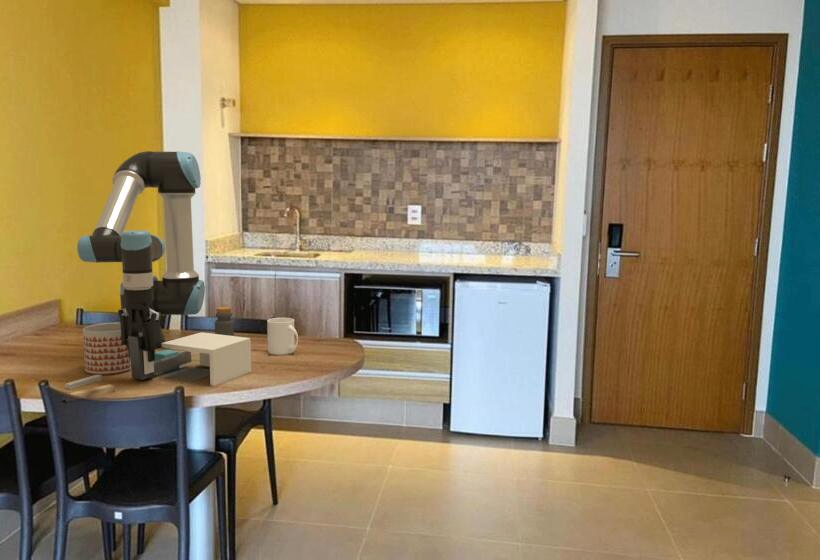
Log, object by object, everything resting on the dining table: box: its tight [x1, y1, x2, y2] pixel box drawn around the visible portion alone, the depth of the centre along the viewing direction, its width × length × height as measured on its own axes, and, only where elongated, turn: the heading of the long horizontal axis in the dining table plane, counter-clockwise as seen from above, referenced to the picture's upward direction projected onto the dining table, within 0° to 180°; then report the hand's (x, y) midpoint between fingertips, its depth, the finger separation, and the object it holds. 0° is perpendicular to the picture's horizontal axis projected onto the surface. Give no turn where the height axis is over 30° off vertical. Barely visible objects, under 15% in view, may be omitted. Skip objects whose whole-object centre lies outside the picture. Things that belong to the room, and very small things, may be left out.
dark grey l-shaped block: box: [128, 332, 192, 381], centre depth 187 cm, size 4×18×12 cm, turn 149°
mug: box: [266, 317, 299, 356], centre depth 215 cm, size 9×12×11 cm
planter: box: [82, 322, 131, 376], centre depth 193 cm, size 14×14×13 cm
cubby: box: [161, 331, 252, 387], centre depth 187 cm, size 18×16×10 cm
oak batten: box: [66, 383, 116, 398], centre depth 168 cm, size 12×2×2 cm, turn 140°
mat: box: [154, 365, 210, 382], centre depth 191 cm, size 22×11×1 cm, turn 66°
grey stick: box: [64, 375, 103, 390], centre depth 179 cm, size 2×10×2 cm, turn 156°
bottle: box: [214, 306, 235, 336], centre depth 213 cm, size 6×6×15 cm
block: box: [154, 348, 180, 372], centre depth 193 cm, size 5×5×5 cm
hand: (142, 371), depth 182 cm, fingers closed on dark grey l-shaped block, 4 cm apart
